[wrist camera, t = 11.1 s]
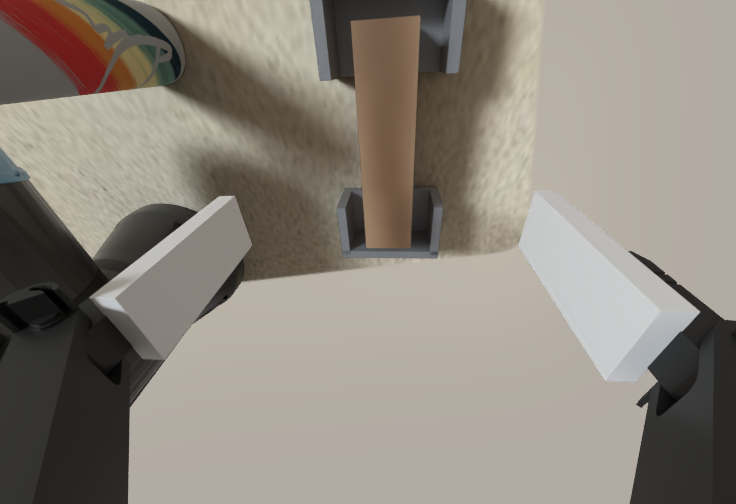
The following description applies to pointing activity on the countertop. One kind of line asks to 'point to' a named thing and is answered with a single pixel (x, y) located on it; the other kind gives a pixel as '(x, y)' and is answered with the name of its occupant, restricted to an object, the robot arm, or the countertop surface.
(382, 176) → the slat
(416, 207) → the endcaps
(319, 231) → the countertop surface
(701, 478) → the robot arm
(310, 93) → the countertop surface
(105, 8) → the lotion bottle
